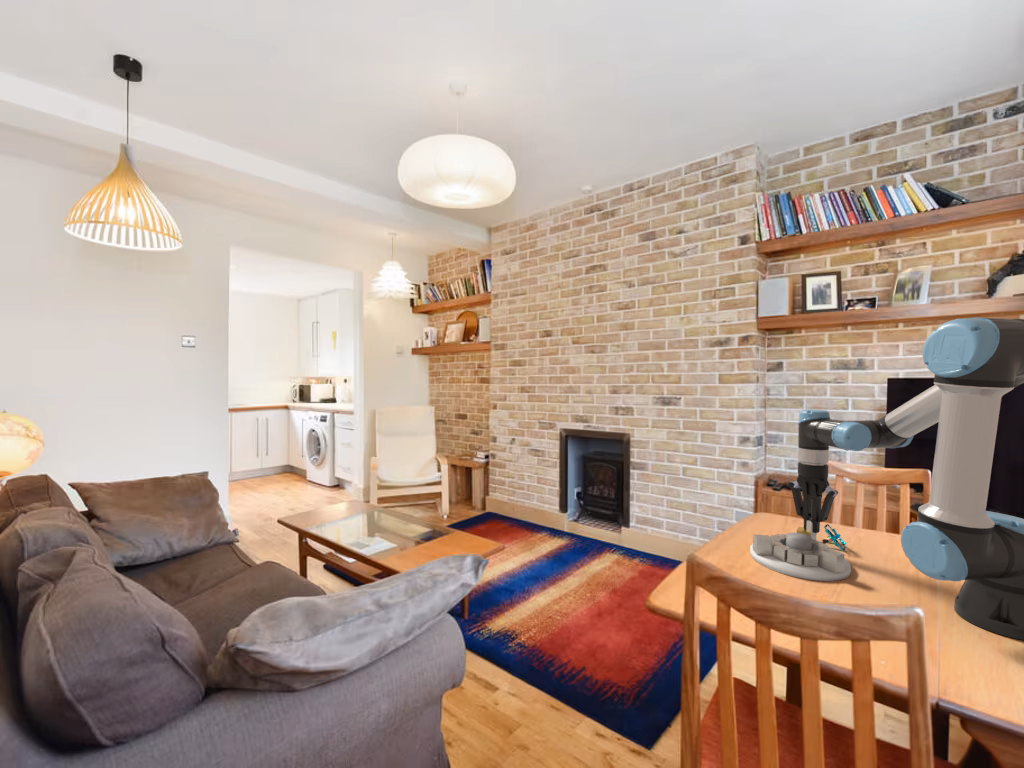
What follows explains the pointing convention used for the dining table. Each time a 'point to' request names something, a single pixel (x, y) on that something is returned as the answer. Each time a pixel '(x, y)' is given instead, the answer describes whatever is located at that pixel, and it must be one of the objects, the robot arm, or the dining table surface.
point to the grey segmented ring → (799, 552)
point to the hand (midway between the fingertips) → (811, 542)
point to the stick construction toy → (833, 537)
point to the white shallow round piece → (802, 571)
